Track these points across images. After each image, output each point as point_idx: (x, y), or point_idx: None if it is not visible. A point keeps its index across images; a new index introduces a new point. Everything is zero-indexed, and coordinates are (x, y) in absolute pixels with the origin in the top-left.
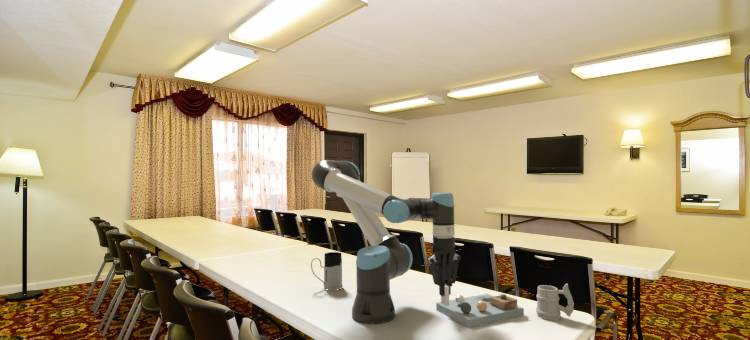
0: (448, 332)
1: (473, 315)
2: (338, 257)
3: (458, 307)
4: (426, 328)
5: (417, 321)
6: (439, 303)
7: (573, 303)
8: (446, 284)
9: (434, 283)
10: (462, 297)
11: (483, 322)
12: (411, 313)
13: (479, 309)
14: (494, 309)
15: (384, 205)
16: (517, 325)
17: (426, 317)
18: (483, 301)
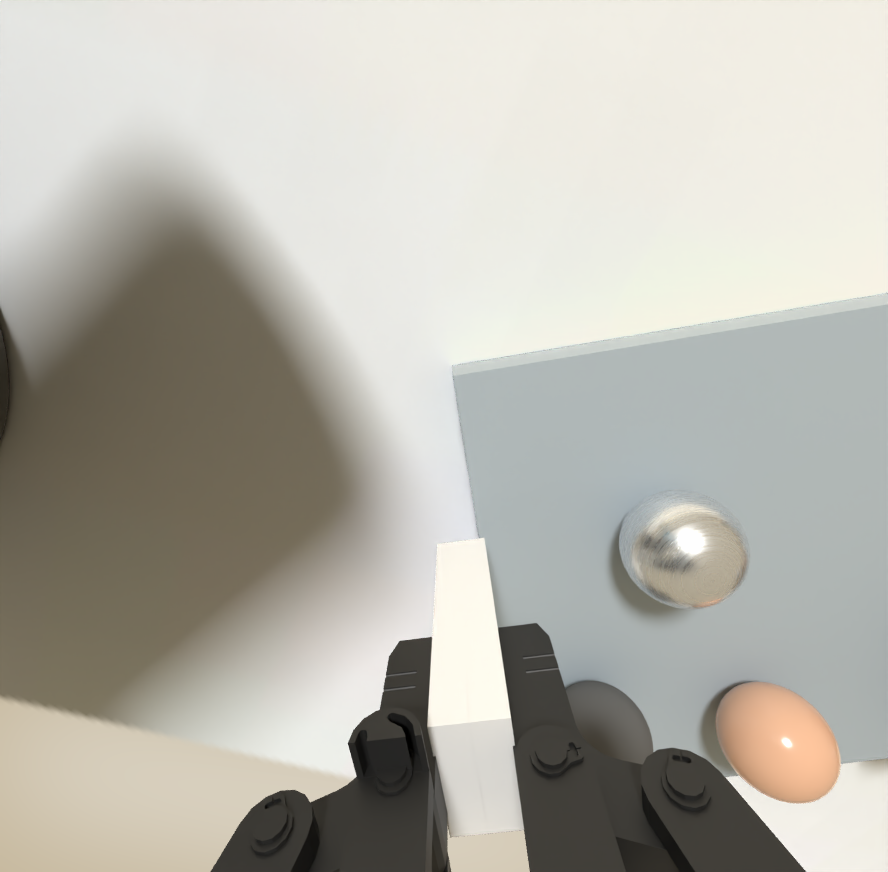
0: (349, 765)
1: None
2: None
3: (604, 566)
4: (225, 684)
5: (192, 563)
6: (477, 406)
7: None
8: (519, 798)
9: (252, 819)
10: (715, 604)
11: None
12: (181, 385)
13: (717, 736)
14: (877, 692)
15: None
16: (841, 791)
17: (290, 510)
18: (820, 797)
